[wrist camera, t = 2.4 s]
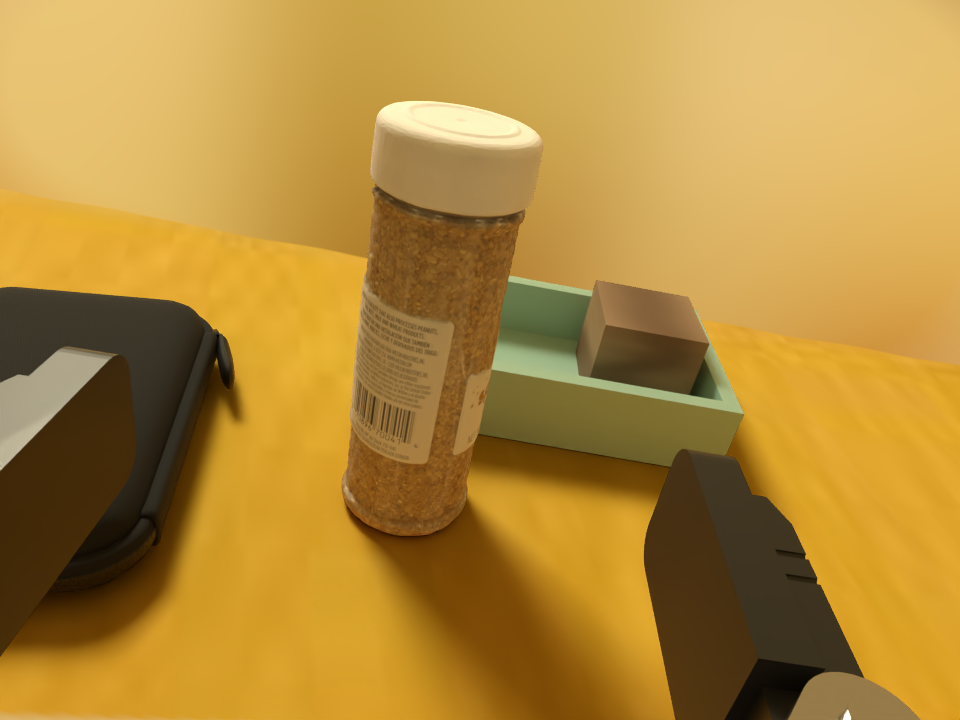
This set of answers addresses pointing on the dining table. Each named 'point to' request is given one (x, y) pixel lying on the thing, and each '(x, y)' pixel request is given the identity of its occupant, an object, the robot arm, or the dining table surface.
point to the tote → (593, 389)
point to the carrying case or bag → (155, 394)
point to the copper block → (641, 339)
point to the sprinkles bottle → (432, 305)
